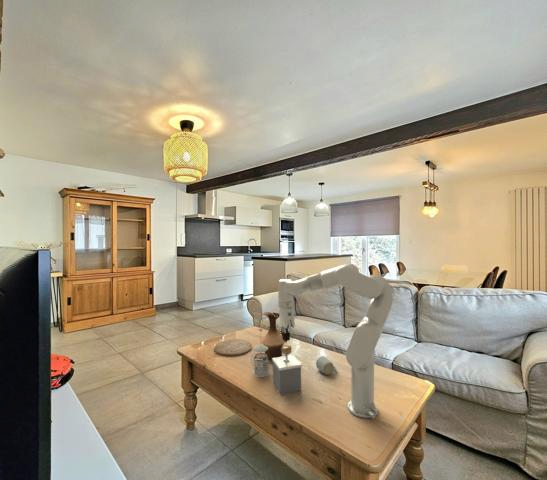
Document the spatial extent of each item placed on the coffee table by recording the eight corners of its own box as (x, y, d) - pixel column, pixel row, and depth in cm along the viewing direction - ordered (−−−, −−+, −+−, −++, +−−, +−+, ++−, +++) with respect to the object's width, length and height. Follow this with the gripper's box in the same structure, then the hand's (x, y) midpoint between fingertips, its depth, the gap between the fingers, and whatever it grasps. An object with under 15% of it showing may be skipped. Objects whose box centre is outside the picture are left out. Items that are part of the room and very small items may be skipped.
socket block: (301, 390, 141) (301, 364, 140) (279, 395, 137) (279, 368, 137) (290, 375, 156) (289, 351, 155) (269, 379, 152) (269, 354, 152)
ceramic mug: (324, 377, 154) (324, 363, 153) (315, 370, 161) (315, 357, 161) (339, 373, 158) (340, 359, 158) (330, 367, 166) (331, 353, 165)
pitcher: (289, 352, 186) (289, 309, 185) (284, 363, 170) (284, 317, 169) (264, 349, 191) (263, 307, 190) (256, 360, 174) (255, 315, 173)
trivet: (206, 351, 190) (206, 348, 190) (232, 339, 211) (232, 336, 211) (234, 360, 176) (234, 357, 176) (259, 346, 196) (259, 343, 196)
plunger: (293, 383, 143) (292, 348, 142) (283, 385, 141) (283, 349, 141) (289, 379, 148) (289, 344, 147) (280, 380, 146) (280, 346, 145)
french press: (273, 372, 160) (273, 328, 159) (258, 380, 151) (258, 333, 150) (261, 366, 166) (260, 324, 166) (246, 374, 158) (245, 329, 157)
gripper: (298, 306, 137) (299, 344, 138) (287, 299, 152) (288, 334, 152) (284, 308, 135) (284, 346, 135) (274, 301, 149) (274, 335, 150)
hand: (286, 339), depth 144 cm, fingers closed
